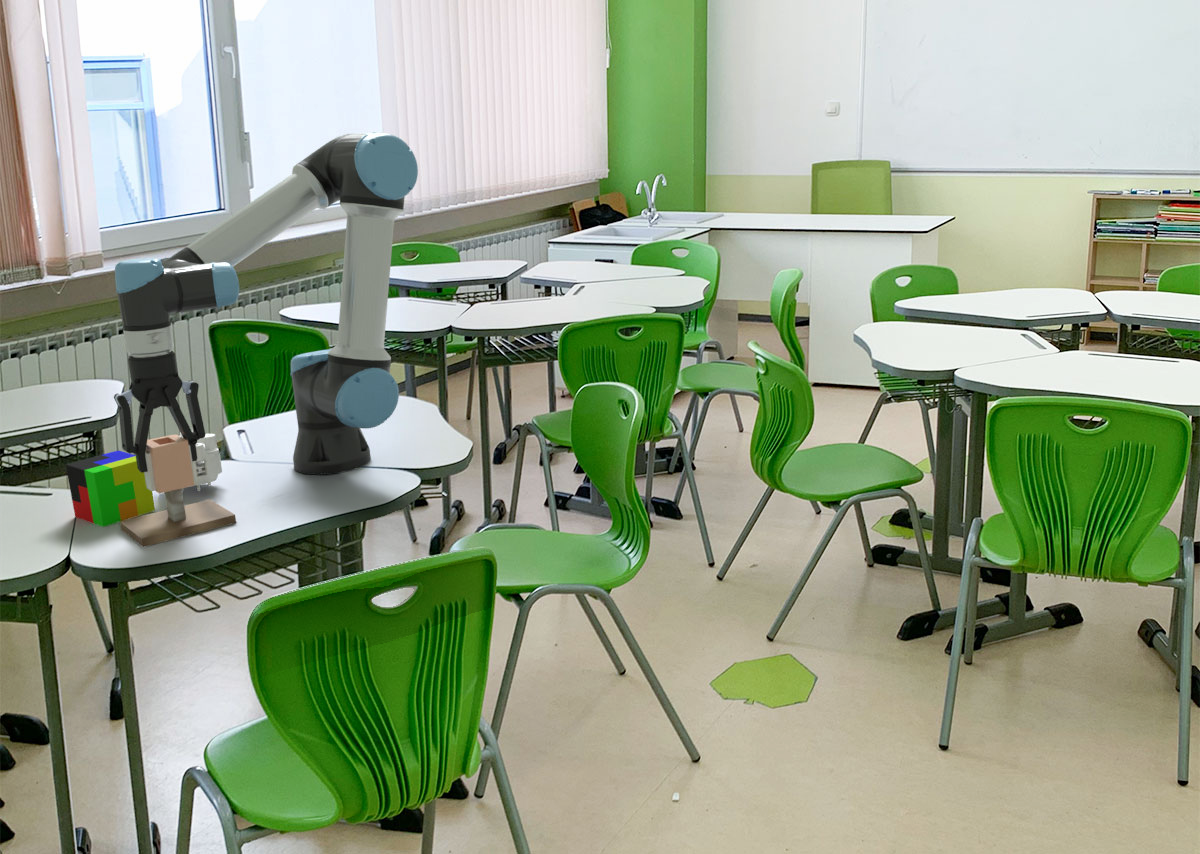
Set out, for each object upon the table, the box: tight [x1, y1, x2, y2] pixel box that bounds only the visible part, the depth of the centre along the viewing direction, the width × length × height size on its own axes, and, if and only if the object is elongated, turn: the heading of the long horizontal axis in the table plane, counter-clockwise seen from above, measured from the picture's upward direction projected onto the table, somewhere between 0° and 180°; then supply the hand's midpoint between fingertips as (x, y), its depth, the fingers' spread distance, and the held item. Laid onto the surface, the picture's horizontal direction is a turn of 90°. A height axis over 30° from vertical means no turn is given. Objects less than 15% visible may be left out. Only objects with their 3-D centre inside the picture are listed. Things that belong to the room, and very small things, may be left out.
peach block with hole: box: [146, 434, 195, 494], centre depth 200 cm, size 6×6×8 cm
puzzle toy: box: [65, 450, 156, 528], centre depth 211 cm, size 10×10×10 cm
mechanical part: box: [179, 427, 223, 493], centre depth 223 cm, size 11×12×12 cm
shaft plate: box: [119, 488, 237, 548], centre depth 202 cm, size 16×12×8 cm
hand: (171, 484), depth 201 cm, fingers closed on peach block with hole, 6 cm apart
